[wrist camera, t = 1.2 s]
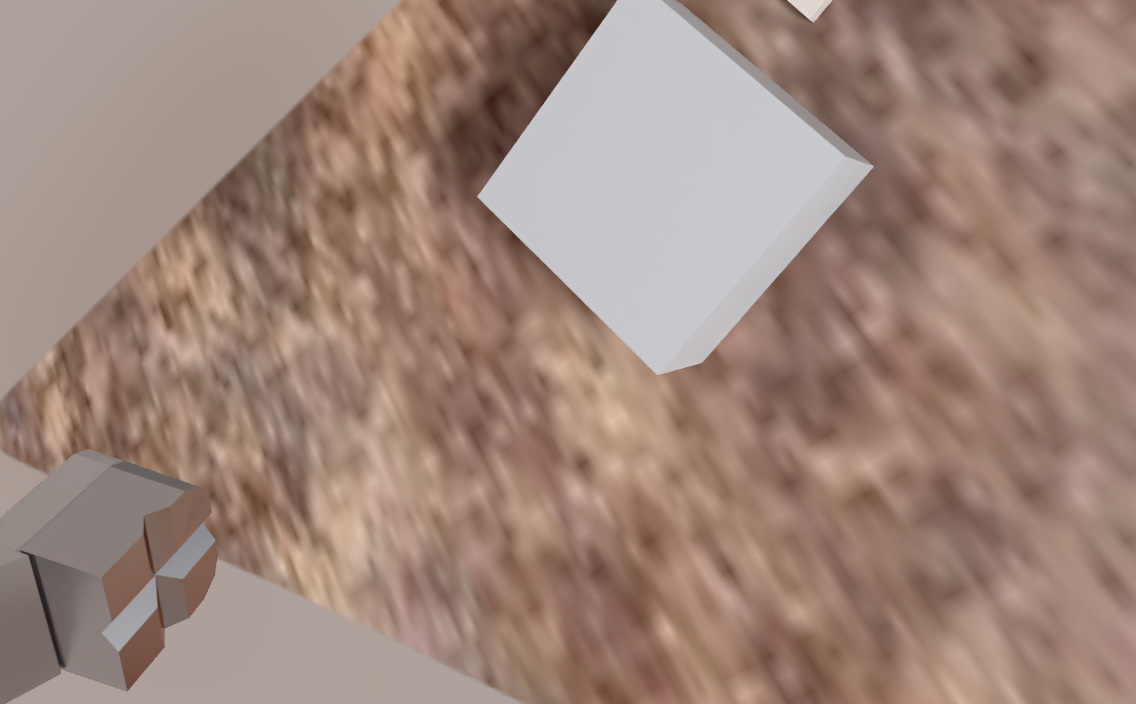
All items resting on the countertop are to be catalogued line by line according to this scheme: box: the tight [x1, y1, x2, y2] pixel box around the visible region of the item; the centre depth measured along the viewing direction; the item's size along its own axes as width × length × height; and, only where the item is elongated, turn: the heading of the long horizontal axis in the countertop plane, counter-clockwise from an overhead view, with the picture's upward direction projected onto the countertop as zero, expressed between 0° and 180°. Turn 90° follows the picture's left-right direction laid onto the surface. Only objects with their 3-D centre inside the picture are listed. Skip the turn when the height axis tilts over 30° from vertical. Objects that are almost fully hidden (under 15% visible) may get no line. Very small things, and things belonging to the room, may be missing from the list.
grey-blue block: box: [478, 0, 874, 375], centre depth 41 cm, size 10×10×5 cm
